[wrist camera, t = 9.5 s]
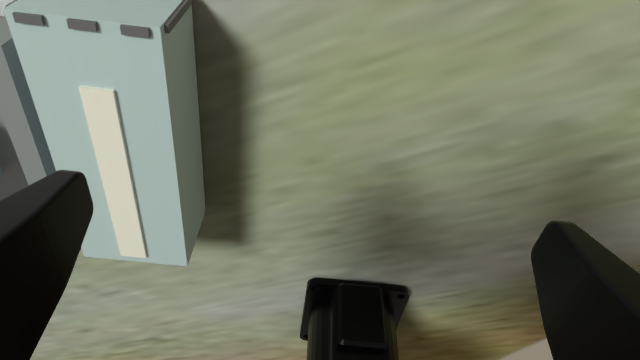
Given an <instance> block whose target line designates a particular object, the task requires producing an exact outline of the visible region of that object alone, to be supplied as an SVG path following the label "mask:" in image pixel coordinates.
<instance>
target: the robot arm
mask: <svg viewBox="0 0 640 360" xmlns="http://www.w3.org/2000/svg"><path fill="white" fill-rule="evenodd" d="M92 215H93V201H92V198H91V194H90V190H89V187H88V183H87V180H86V177H85V175H84V174H83V173H82V172H79V171H71V170H58V171H55V172H53V173H51V174H50V175H48V176H46V177H44V178H42V179H40V180H38V181H36V182H34V183H32V184H30V185H29V186H27V187H25V188H23V189H21V190H19V191H17V192H15V193H13V194H11V195H10V196H8V197H6V198H4V199H2V200H0V360H30V358H31V356H32V354H33V352H34V350H35V348H36V346H37V344H38V342H39V340H40V338H41V336H42V334H43V332H44V330H45V328H46V326H47V324H48V322H49V320H50V318H51V316H52V314H53V312H54V310H55V308H56V306H57V304H58V302H59V300H60V298H61V296H62V294H63V292H64V290H65V288H66V286H67V283H68V281H69V278H70V276H71V273H72V270H73V268H74V265H75V262H76V259H77V257H78V254H79V251H80V248H81V246H82V243H83V240H84V237H85V235H86V232H87V229H88V226H89V224H90V221H91V218H92ZM531 262H532V267H533V272H534V278H535V283H536V288H537V294H538V299H539V304H540V310H541V315H542V320H543V325H544V329H545V333H546V336H547V340H548V343H549V346H550V350H551V353H552V356H553V359H554V360H640V274H639V273H638V272H636V271H635V270H634V269H633V268H631V267H630V266H629V265H627V264H626V263H625V262H623V261H622V260H621V259H620V258H618V257H617V256H616V255H614V254H613V253H612V252H610V251H609V250H608V249H607V248H605V247H604V246H603V245H601V244H600V243H599V242H598V241H596V240H595V239H594V238H592V237H591V236H590V235H588V234H587V233H586V232H585V231H583V230H582V229H581V228H579V227H578V226H577V225H575V224H574V223H571V222H564V221H551V222H549V223H548V224H547V225H546V227H545V228H544V230H543V232H542V233H541V235H540V237H539V238H538V240H537V242H536V243H535V245H534V247H533V249H532V253H531ZM408 297H409V295H408V290H407V288H405V287H401V286H390V285H379V284H369V283H358V282H348V281H337V280H326V279H310V280H309V281H308V283H307V289H306V296H305V303H304V310H303V316H302V323H301V330H300V338H301V339H303V340H306V341H308V346H307V360H399V355H398V346H397V337H396V329H397V326H398V323H399V321H400V318H401V315H402V313H403V310H404V308H405V305H406V302H407V300H408Z"/></svg>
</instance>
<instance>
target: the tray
mask: <svg viewBox="0 0 640 360" xmlns="http://www.w3.org/2000/svg"><path fill="white" fill-rule="evenodd" d="M0 166H1V168H2V170H3V174H2V175H1V176H0V200H2V199H4V198H6V197H8V196H10V195H11V194H13V193H15V192H17V191H19V190H21V189H23V188H25V187H27V186H29V185H30V184H32V183H34V182H36V181H38V180H40V179H42V178H44V177H46V176H48V175H50V174H51V173H53V172H55V171H56V169H55V166H54V163H53V160H52V157H51V154H50V151H49V148H48V145H47V141H46V138H45V135H44V132H43V129H42V126H41V123H40V120H39V117H38V114H37V111H36V108H35V105H34V102H33V99H32V96H31V93H30V90H29V87H28V84H27V80H26V77H25V74H24V71H23V68H22V65H21V62H20V59H19V56H18V53H17V50H16V47H15V44H14V41H13V38H12V35H11V32H10V29H9V26H8V23H7V19H6V17H2V16H0ZM80 250H81V248H80ZM79 252H80V251H79Z"/></svg>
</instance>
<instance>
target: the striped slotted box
mask: <svg viewBox="0 0 640 360" xmlns="http://www.w3.org/2000/svg"><path fill="white" fill-rule="evenodd" d="M192 3H193V0H15V1H13V2H11V3H9V4H8V5H6V7H5V8H3V10H4V13H5V16H6V19H7V23H8V26H9V29H10V32H11V35H12V38H13V41H14V44H15V47H16V50H17V53H18V56H19V59H20V62H21V65H22V68H23V71H24V74H25V77H26V80H27V84H28V87H29V90H30V93H31V96H32V99H33V102H34V105H35V108H36V111H37V114H38V117H39V120H40V123H41V126H42V129H43V132H44V135H45V138H46V141H47V145H48V148H49V151H50V154H51V157H52V160H53V163H54V166H55V169H56V171H58V170H71V171H79V172H82V173H83V174H84V175H85V177H86V180H87V183H88V187H89V190H90V194H91V198H92V201H93V215H92V218H91V221H90V224H89V226H88V229H87V232H86V235H85V237H84V240H83V243H82V246H81V248H82V251H83V254H84V257H95V258H105V259H116V260H126V261H137V262H148V263H158V264H169V265H179V266H188V263H189V260H190V257H191V254H192V251H193V248H194V245H195V242H196V239H197V236H198V233H199V230H200V227H201V224H202V221H203V217H204V214H205V211H206V208H205V194H204V179H203V164H202V149H201V134H200V119H199V104H198V90H197V75H196V60H195V45H194V30H193V15H192Z"/></svg>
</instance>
